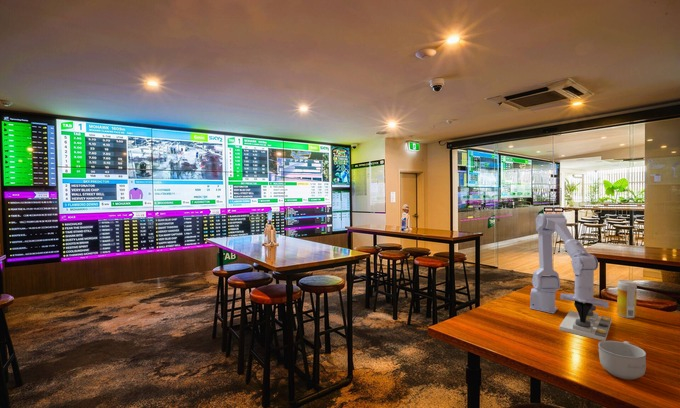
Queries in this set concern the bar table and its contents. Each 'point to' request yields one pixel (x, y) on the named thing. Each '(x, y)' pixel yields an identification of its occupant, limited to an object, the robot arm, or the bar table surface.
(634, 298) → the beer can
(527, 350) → the bar table surface
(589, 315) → the button
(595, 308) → the button
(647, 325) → the bar table surface
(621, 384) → the bar table surface
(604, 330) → the board
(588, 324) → the button
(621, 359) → the light grey bowl
